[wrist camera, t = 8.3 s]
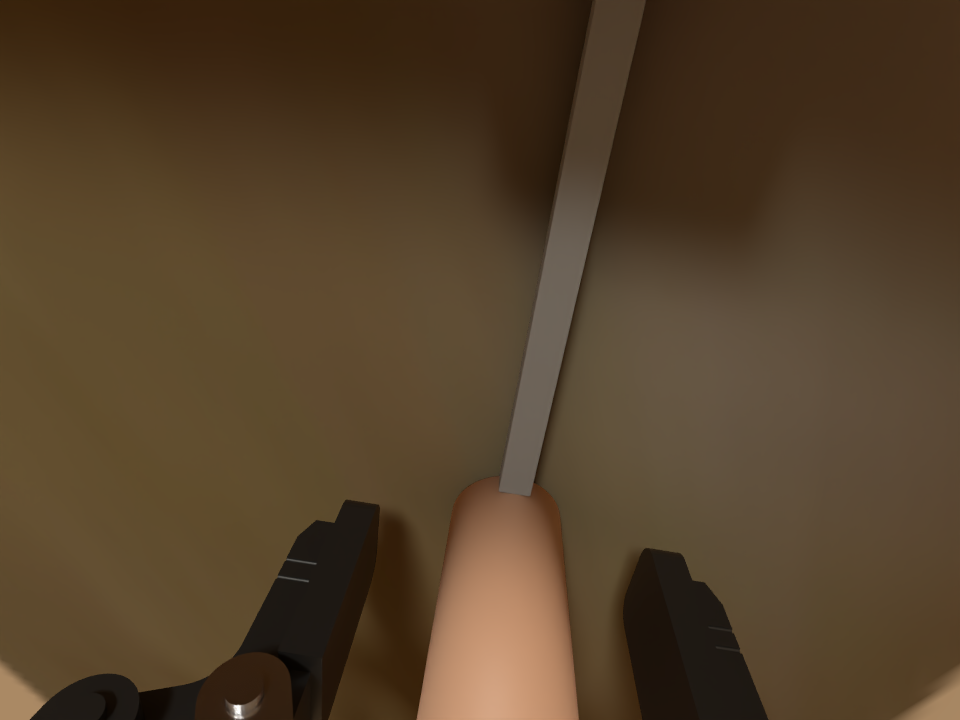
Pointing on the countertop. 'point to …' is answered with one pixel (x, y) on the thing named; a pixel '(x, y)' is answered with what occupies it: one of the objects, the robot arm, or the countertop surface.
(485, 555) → the tethered block
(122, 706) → the robot arm
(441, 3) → the countertop surface
